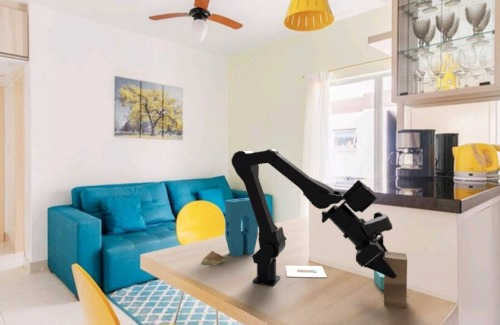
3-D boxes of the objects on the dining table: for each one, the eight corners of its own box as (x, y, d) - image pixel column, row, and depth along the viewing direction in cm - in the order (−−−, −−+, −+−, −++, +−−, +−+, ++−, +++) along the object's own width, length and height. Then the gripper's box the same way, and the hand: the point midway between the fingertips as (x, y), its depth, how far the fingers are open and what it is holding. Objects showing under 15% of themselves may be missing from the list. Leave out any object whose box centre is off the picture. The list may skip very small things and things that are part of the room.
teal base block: (402, 290, 87) (403, 278, 87) (380, 289, 88) (380, 277, 88) (395, 281, 93) (395, 269, 93) (373, 280, 94) (374, 268, 94)
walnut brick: (406, 308, 78) (407, 259, 77) (383, 304, 80) (384, 257, 79) (405, 299, 82) (405, 253, 82) (383, 296, 84) (384, 251, 84)
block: (251, 248, 125) (251, 197, 124) (258, 251, 120) (258, 199, 120) (224, 253, 118) (224, 200, 117) (231, 257, 114) (230, 202, 113)
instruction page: (327, 277, 96) (327, 276, 96) (287, 277, 97) (287, 276, 97) (321, 266, 105) (321, 265, 105) (285, 266, 106) (285, 265, 106)
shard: (211, 254, 119) (211, 249, 119) (231, 256, 117) (231, 251, 117) (200, 265, 108) (200, 259, 108) (222, 266, 107) (222, 261, 107)
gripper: (371, 210, 73) (424, 263, 70) (373, 198, 91) (416, 241, 87) (335, 240, 77) (385, 293, 73) (344, 223, 94) (385, 265, 90)
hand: (394, 270), depth 81 cm, fingers open, 9 cm apart
